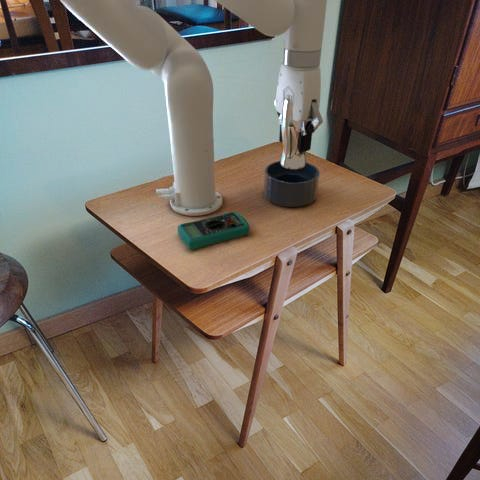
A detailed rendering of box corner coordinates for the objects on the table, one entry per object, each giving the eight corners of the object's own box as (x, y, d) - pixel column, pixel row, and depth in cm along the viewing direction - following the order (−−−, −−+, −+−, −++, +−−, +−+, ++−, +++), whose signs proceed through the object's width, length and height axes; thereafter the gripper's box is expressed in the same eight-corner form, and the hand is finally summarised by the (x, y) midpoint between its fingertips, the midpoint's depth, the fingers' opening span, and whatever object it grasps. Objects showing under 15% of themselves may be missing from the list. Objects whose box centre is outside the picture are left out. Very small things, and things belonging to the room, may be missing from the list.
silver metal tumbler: (293, 156, 110) (299, 90, 100) (313, 165, 106) (321, 97, 96) (272, 163, 107) (275, 96, 97) (292, 173, 103) (298, 104, 93)
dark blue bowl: (271, 211, 106) (272, 185, 102) (258, 186, 116) (259, 162, 111) (323, 206, 108) (326, 180, 104) (307, 182, 117) (309, 158, 113)
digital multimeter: (252, 235, 98) (252, 223, 96) (189, 252, 93) (188, 240, 91) (237, 220, 103) (237, 208, 101) (176, 235, 98) (175, 223, 96)
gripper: (262, 51, 95) (259, 137, 107) (315, 70, 84) (305, 162, 96) (290, 47, 98) (284, 131, 110) (344, 64, 87) (331, 155, 99)
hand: (294, 145), depth 103 cm, fingers closed on silver metal tumbler, 6 cm apart
